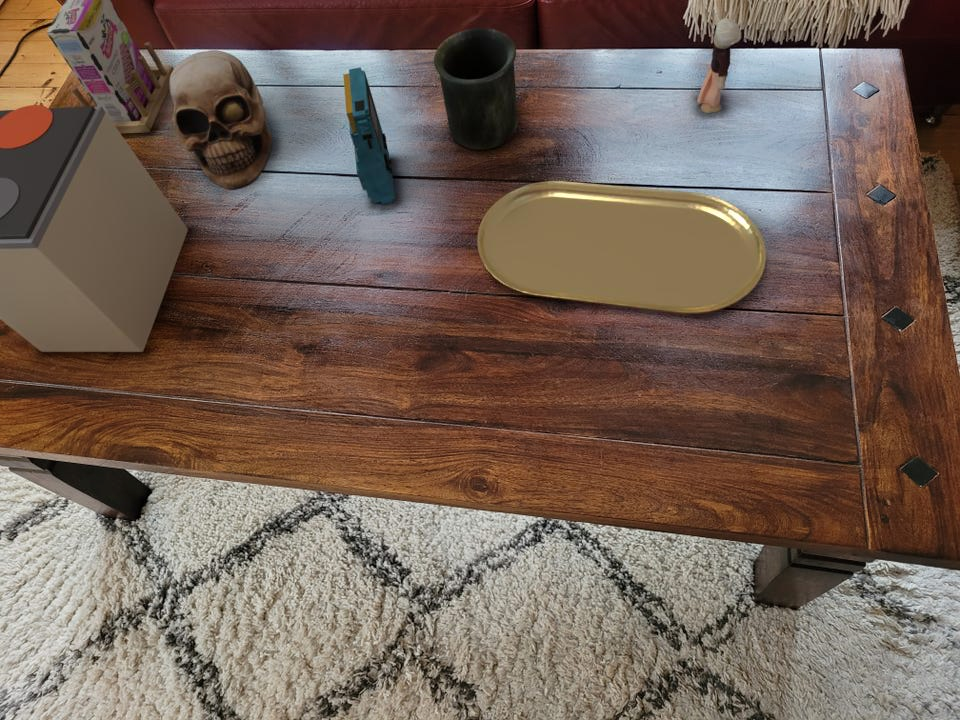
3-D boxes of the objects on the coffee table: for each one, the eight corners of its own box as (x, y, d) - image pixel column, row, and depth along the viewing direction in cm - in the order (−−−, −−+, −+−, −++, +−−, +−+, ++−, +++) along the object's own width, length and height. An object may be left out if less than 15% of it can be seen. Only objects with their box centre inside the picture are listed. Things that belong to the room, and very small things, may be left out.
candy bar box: (139, 125, 109) (76, 30, 95) (110, 127, 109) (43, 33, 95) (159, 79, 114) (102, -17, 100) (131, 81, 115) (70, -14, 101)
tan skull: (235, 195, 98) (187, 114, 87) (167, 161, 106) (116, 83, 95) (312, 133, 104) (276, 49, 93) (243, 105, 112) (202, 26, 101)
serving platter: (761, 330, 77) (764, 322, 76) (463, 293, 85) (461, 286, 83) (764, 207, 86) (768, 198, 85) (495, 183, 94) (494, 175, 92)
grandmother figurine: (690, 89, 99) (705, 6, 88) (717, 85, 99) (735, 1, 88) (702, 125, 95) (719, 42, 84) (730, 121, 95) (751, 38, 84)
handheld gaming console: (398, 204, 94) (371, 114, 81) (369, 210, 94) (337, 121, 81) (392, 155, 99) (366, 64, 86) (364, 160, 99) (334, 70, 86)
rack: (92, 134, 109) (64, 98, 103) (122, 75, 116) (98, 38, 110) (149, 132, 107) (125, 95, 101) (176, 72, 115) (154, 34, 109)
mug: (442, 154, 98) (427, 82, 87) (455, 87, 105) (443, 13, 95) (517, 154, 96) (511, 81, 86) (526, 86, 103) (521, 11, 93)
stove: (41, 352, 87) (-99, 241, 69) (96, 231, 97) (-14, 107, 79) (143, 352, 85) (27, 238, 67) (188, 229, 96) (98, 101, 77)
